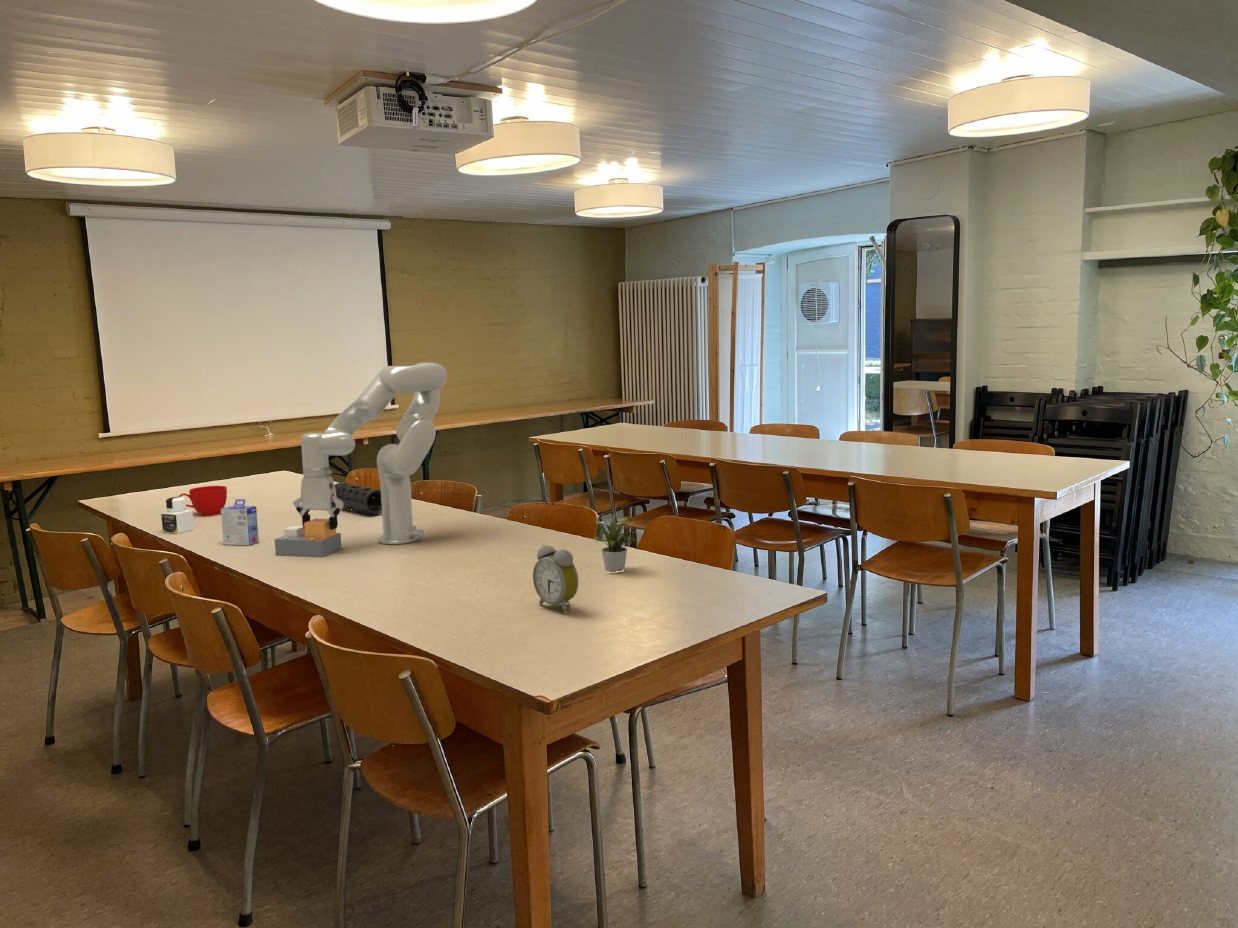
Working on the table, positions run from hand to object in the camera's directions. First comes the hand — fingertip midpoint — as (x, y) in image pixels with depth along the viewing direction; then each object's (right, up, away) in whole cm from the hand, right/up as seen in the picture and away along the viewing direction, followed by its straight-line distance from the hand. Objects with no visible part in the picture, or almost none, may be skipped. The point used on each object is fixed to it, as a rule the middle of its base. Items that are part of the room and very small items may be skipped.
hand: (320, 528), depth 267 cm
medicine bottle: (-62, -4, +36) cm, 72 cm away
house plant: (+90, -10, -28) cm, 95 cm away
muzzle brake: (-8, +1, +65) cm, 65 cm away
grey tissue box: (-4, -7, +2) cm, 9 cm away
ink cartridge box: (-31, -6, +15) cm, 35 cm away
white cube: (-9, -4, +3) cm, 10 cm away
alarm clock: (+78, -15, -58) cm, 99 cm away
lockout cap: (0, -3, 0) cm, 3 cm away
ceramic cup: (-67, 0, +64) cm, 92 cm away
